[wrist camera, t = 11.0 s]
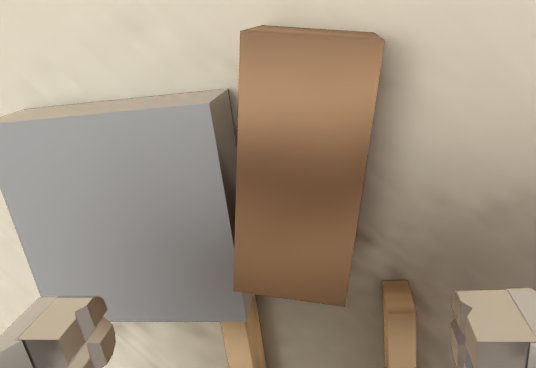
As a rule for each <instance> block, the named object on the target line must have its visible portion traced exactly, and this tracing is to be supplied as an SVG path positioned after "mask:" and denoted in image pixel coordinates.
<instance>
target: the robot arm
mask: <svg viewBox="0 0 536 368" xmlns="http://www.w3.org/2000/svg"><path fill="white" fill-rule="evenodd" d="M451 307H452V310H453V312H454V315H455V318H456V319H455V320H454V321H453V322H452V323H451V346H452V352H453V357H454V361H455V364H456V367H457V368H536V291H535V290H533V289H532V288H512V289H504V290H465V291H453V295H452V305H451ZM107 310H108V309H107V306H106V304H105V301H104V299H103V298H101V297H99V296H43V297H40V298H38V299H37V300H36V301H35V302H34V303H33V304H32V305H31V306H30V307H29V308H28V309H27V310H26V311H25V312H24V313H23V314H22V315H21V316H20V317H19V318H18V319H17V320H16V321H15V322H14V323H13V324H12V325H11V326H10V327H9V328H8V329H7V330H6V331H5V332H4V333H3V334H2V335H1V336H0V368H102V367H104V366H105V365H107V363H108V362H109V360H110V358H111V357H112V355H113V351H114V347H115V343H116V341H115V331H114V328H113V324H111V323H110V322H109V321H108V320H107V319H106V318H105V315H106V313H107Z"/></svg>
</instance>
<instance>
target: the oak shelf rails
mask: <svg viewBox="0 0 536 368" xmlns="http://www.w3.org/2000/svg"><path fill="white" fill-rule="evenodd" d="M382 284H383V315H384V347H385V368H416V310H415V306H414V302H413V299H412V295H411V291H410V287H409V283H408V280H397V281H382ZM220 323H221V328H222V333H223V338H224V343H225V348H226V354H227V359H228V364H229V368H267V367H266V361H265V355H264V348H263V342H262V336H261V329H260V323H259V317H258V311H257V304H256V298H255V295H254V298H253V302H252V305H251V309H250V312H249V315H248V319H247V322H220Z"/></svg>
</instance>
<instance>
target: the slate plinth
mask: <svg viewBox="0 0 536 368" xmlns="http://www.w3.org/2000/svg"><path fill="white" fill-rule="evenodd" d="M236 171H237V145H236V138H235V132H234V125H233V119H232V112H231V106H230V99H229V93H228V89H219V90H209V91H199V92H189V93H179V94H170V95H160V96H150V97H140V98H130V99H120V100H111V101H101V102H91V103H81V104H71V105H61V106H52V107H42V108H32V109H24V110H21V111H18V112H15V113H12V114H9V115H6V116H3V117H0V189H1V191H2V194H3V197H4V199H5V202H6V205H7V207H8V210H9V213H10V215H11V218H12V221H13V223H14V226H15V229H16V231H17V234H18V237H19V239H20V242H21V245H22V248H23V250H24V253H25V256H26V258H27V261H28V264H29V266H30V269H31V272H32V274H33V277H34V280H35V282H36V285H37V288H38V290H39V293H40V296H41V297H43V296H99V297H101V298H103V299H104V301H105V304H106V306H107V309H108V310H107V313H106V315H105V318H106V319H107V320H108V321H109V322H247V319H248V315H249V312H250V309H251V305H252V302H253V298H254V295H255V294H248V293H241V292H234V291H233V281H234V244H235V208H236Z"/></svg>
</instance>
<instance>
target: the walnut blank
mask: <svg viewBox="0 0 536 368" xmlns="http://www.w3.org/2000/svg"><path fill="white" fill-rule="evenodd" d="M384 44H385V40H383V39H382V38H381V37H379V36H378V35H377V34H375V33H373V32H357V31H342V30H326V29H311V28H295V27H280V26H265V25H261V26H257V27H254V28H250V29H246V30H243V31H240V62H239V99H238V135H237V171H236V208H235V244H234V281H233V291H234V292H241V293H248V294H256V295H263V296H271V297H278V298H285V299H293V300H300V301H307V302H315V303H322V304H329V305H337V306H344V307H345V303H346V296H347V290H348V283H349V277H350V270H351V263H352V257H353V250H354V243H355V237H356V230H357V223H358V217H359V210H360V203H361V197H362V190H363V183H364V177H365V170H366V164H367V157H368V150H369V144H370V137H371V130H372V124H373V117H374V110H375V104H376V97H377V90H378V84H379V77H380V71H381V64H382V57H383V51H384Z"/></svg>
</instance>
